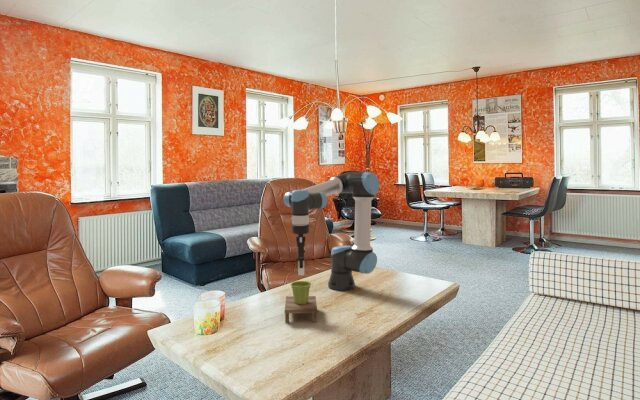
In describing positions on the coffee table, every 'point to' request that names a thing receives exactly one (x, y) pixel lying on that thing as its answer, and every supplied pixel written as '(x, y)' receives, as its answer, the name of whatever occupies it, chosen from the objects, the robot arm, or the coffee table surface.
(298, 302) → the plant pot
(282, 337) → the coffee table surface
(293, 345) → the coffee table surface
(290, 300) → the walnut plant stand
